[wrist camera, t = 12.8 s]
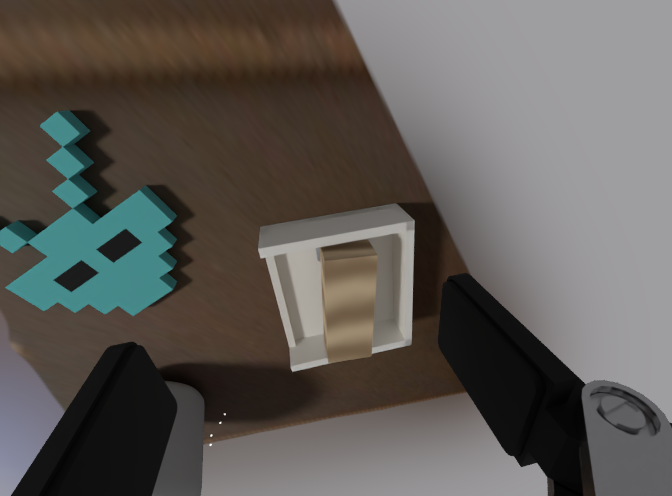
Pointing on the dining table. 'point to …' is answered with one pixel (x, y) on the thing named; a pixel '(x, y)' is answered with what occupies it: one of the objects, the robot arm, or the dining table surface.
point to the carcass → (305, 276)
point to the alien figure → (94, 241)
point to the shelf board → (348, 299)
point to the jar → (183, 446)
